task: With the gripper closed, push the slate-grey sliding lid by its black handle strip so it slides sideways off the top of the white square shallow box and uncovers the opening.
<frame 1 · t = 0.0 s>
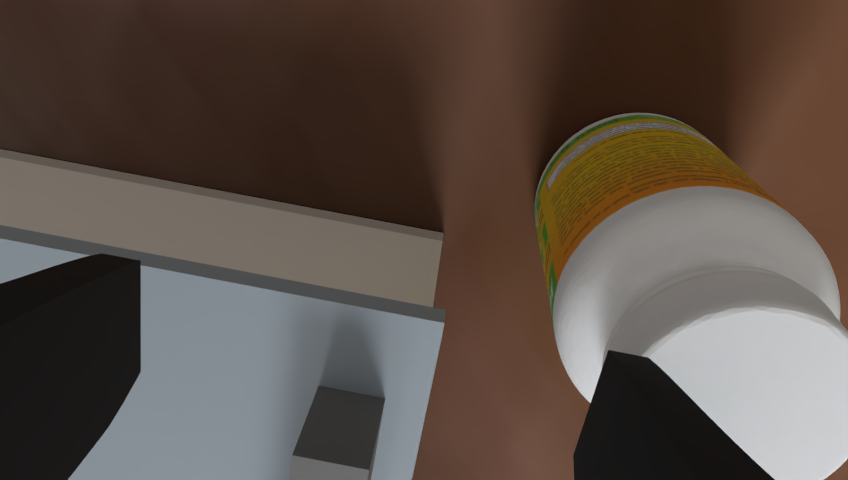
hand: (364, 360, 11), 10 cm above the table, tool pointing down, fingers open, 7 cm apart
white square shallow box: (148, 415, 24), on the table
supplement bottle: (626, 199, 20), on the table
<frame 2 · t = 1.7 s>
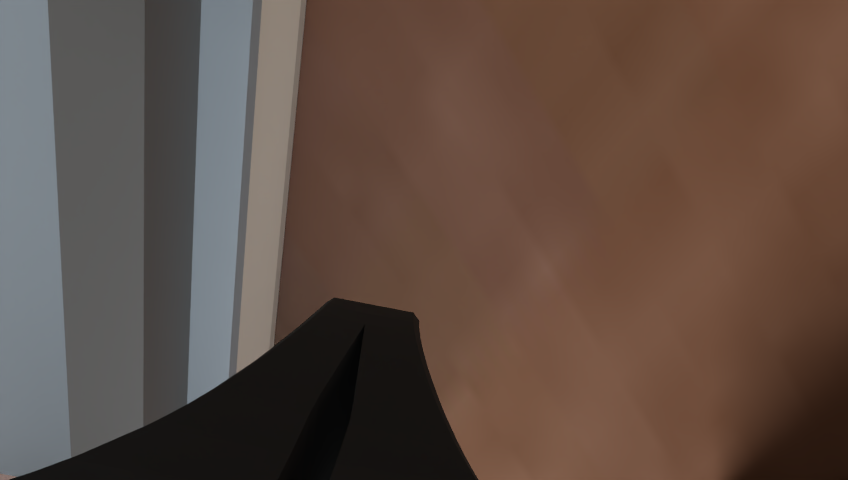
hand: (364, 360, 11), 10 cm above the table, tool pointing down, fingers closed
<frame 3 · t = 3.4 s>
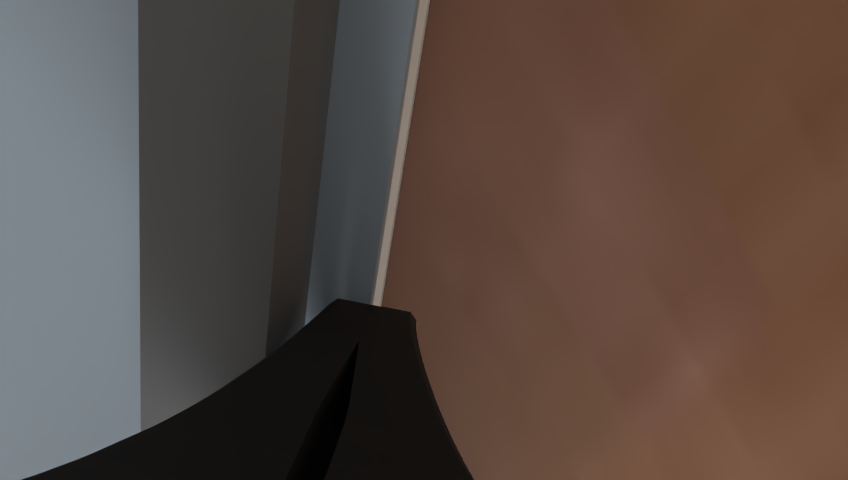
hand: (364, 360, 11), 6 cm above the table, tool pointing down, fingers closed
white square shallow box: (27, 140, 16), on the table
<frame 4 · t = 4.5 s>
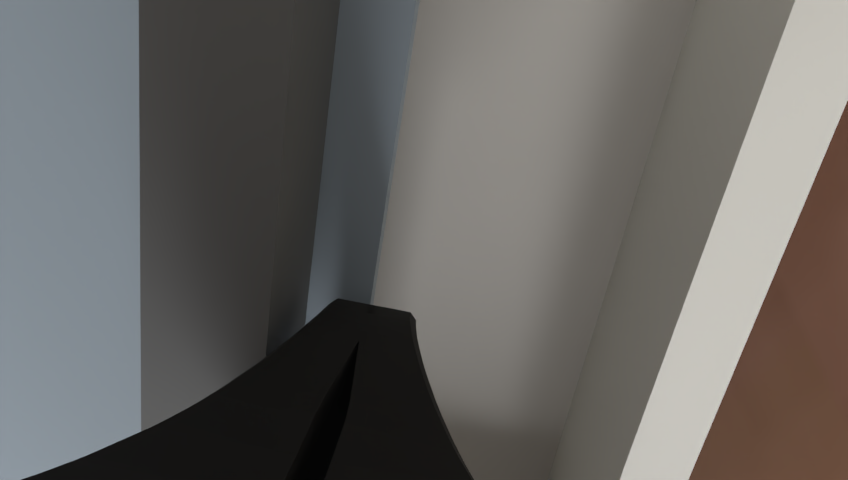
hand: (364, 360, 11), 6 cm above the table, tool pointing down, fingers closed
white square shallow box: (289, 189, 16), on the table
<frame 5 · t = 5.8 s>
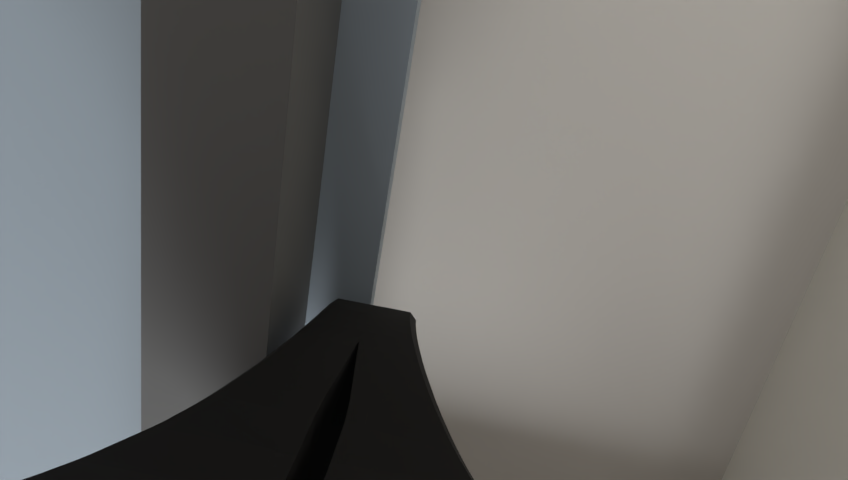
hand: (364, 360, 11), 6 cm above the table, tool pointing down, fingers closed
white square shallow box: (470, 223, 16), on the table
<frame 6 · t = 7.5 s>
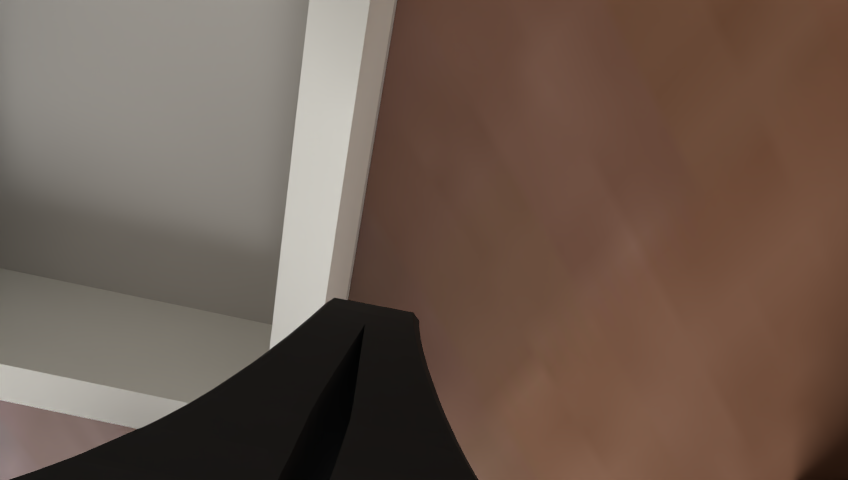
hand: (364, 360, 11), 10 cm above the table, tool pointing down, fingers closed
white square shallow box: (68, 30, 19), on the table
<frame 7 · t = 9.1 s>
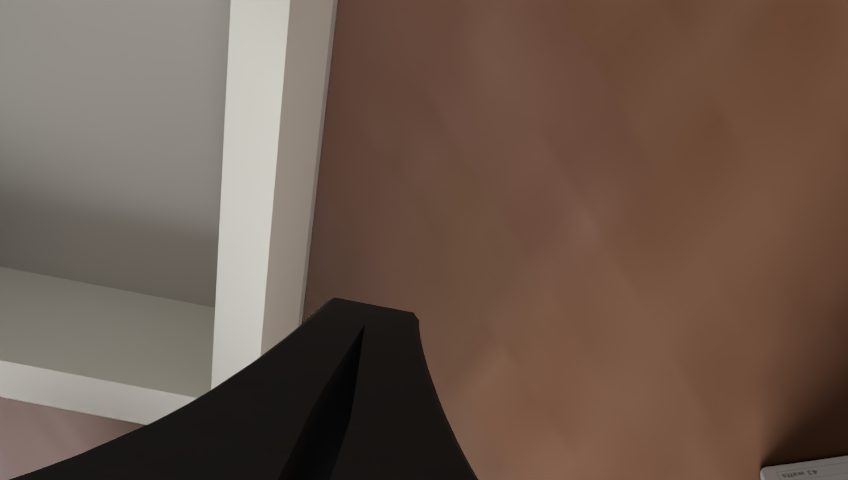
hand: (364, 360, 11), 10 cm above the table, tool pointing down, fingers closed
white square shallow box: (15, 17, 19), on the table
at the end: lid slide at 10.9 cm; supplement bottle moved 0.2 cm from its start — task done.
